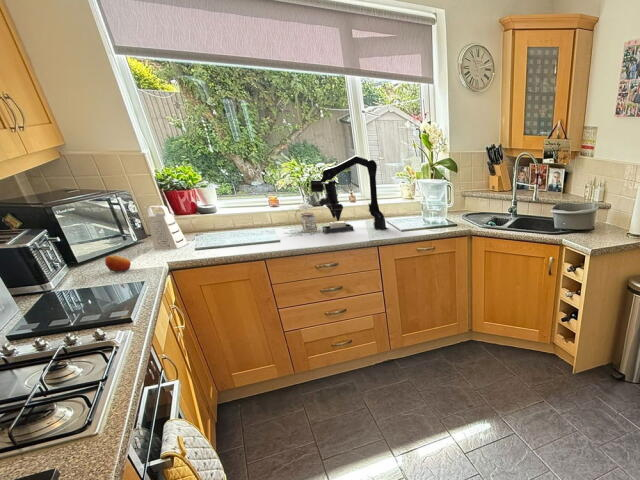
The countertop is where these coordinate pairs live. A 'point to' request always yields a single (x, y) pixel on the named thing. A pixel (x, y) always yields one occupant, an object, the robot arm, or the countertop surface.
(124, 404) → the countertop surface
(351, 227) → the shoe tray
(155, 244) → the grater
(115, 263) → the fruit
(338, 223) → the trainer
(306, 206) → the french press
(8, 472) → the countertop surface
